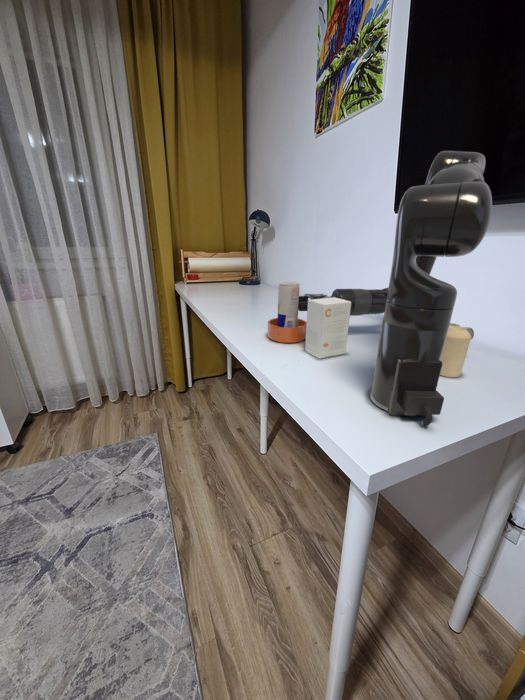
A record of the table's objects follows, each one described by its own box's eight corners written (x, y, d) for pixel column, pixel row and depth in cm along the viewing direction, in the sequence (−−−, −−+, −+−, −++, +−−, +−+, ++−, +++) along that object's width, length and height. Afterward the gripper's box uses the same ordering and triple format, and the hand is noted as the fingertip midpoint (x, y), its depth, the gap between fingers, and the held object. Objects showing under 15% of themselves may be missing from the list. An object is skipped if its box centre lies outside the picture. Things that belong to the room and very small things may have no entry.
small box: (330, 346, 76) (334, 296, 72) (346, 354, 71) (352, 301, 66) (304, 350, 73) (307, 299, 68) (318, 359, 68) (323, 304, 63)
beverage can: (296, 333, 85) (299, 281, 79) (296, 339, 80) (300, 284, 74) (277, 332, 85) (279, 280, 80) (276, 338, 80) (278, 283, 75)
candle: (445, 378, 59) (458, 331, 55) (424, 368, 64) (434, 324, 60) (466, 376, 60) (480, 329, 56) (444, 365, 65) (455, 322, 61)
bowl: (308, 344, 77) (309, 328, 76) (267, 343, 78) (267, 327, 76) (304, 332, 87) (305, 317, 86) (268, 331, 88) (268, 317, 86)
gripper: (342, 285, 87) (289, 285, 85) (364, 293, 73) (302, 294, 71) (339, 309, 89) (288, 310, 87) (360, 322, 76) (300, 323, 74)
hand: (294, 303), depth 79 cm, fingers open, 8 cm apart
